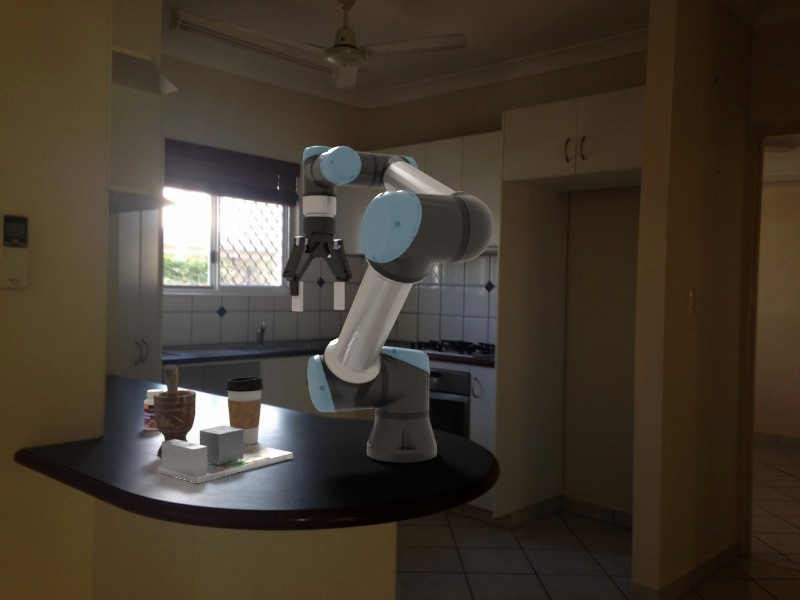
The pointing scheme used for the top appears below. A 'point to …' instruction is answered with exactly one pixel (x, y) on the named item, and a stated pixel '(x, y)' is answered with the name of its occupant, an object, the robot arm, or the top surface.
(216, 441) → the grey rectangular block
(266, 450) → the gauge base
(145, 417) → the pill bottle
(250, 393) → the coffee cup
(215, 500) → the top surface
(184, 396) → the mortar and pestle
